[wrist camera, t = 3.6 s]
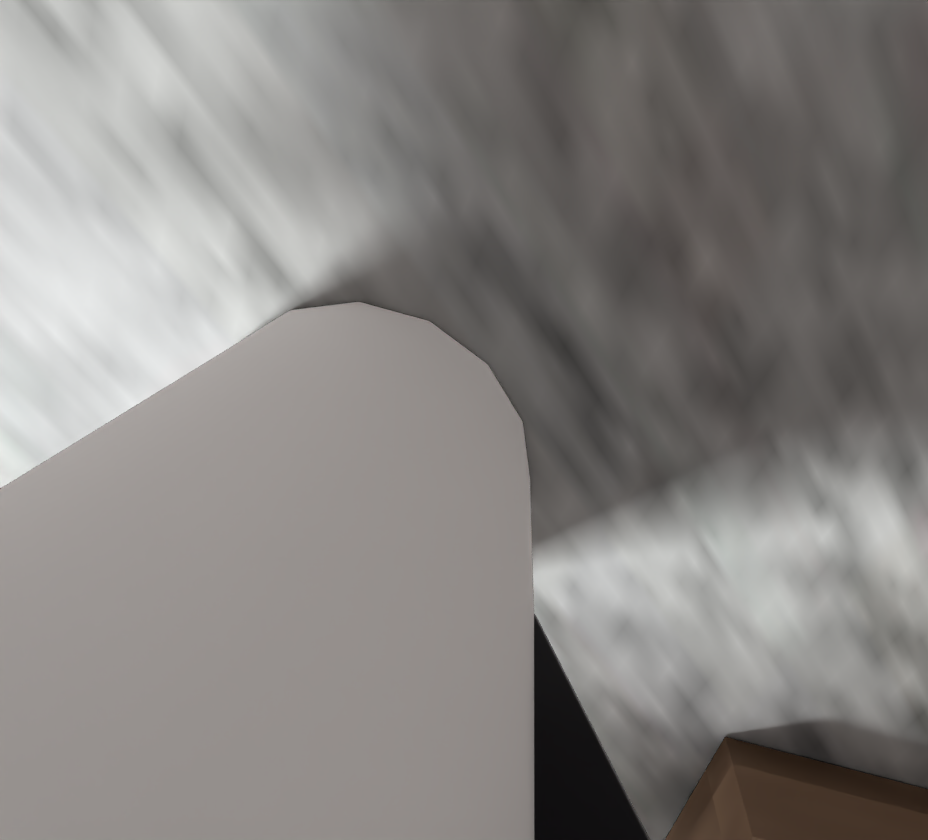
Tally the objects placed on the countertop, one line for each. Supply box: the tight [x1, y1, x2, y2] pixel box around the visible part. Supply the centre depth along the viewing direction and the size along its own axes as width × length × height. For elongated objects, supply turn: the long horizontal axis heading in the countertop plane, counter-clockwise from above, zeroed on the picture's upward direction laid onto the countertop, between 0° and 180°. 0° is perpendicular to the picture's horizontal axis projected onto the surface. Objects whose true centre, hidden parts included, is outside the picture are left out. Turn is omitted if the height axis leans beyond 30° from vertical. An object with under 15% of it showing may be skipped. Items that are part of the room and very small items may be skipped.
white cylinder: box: [0, 302, 534, 840], centre depth 7 cm, size 7×7×10 cm
